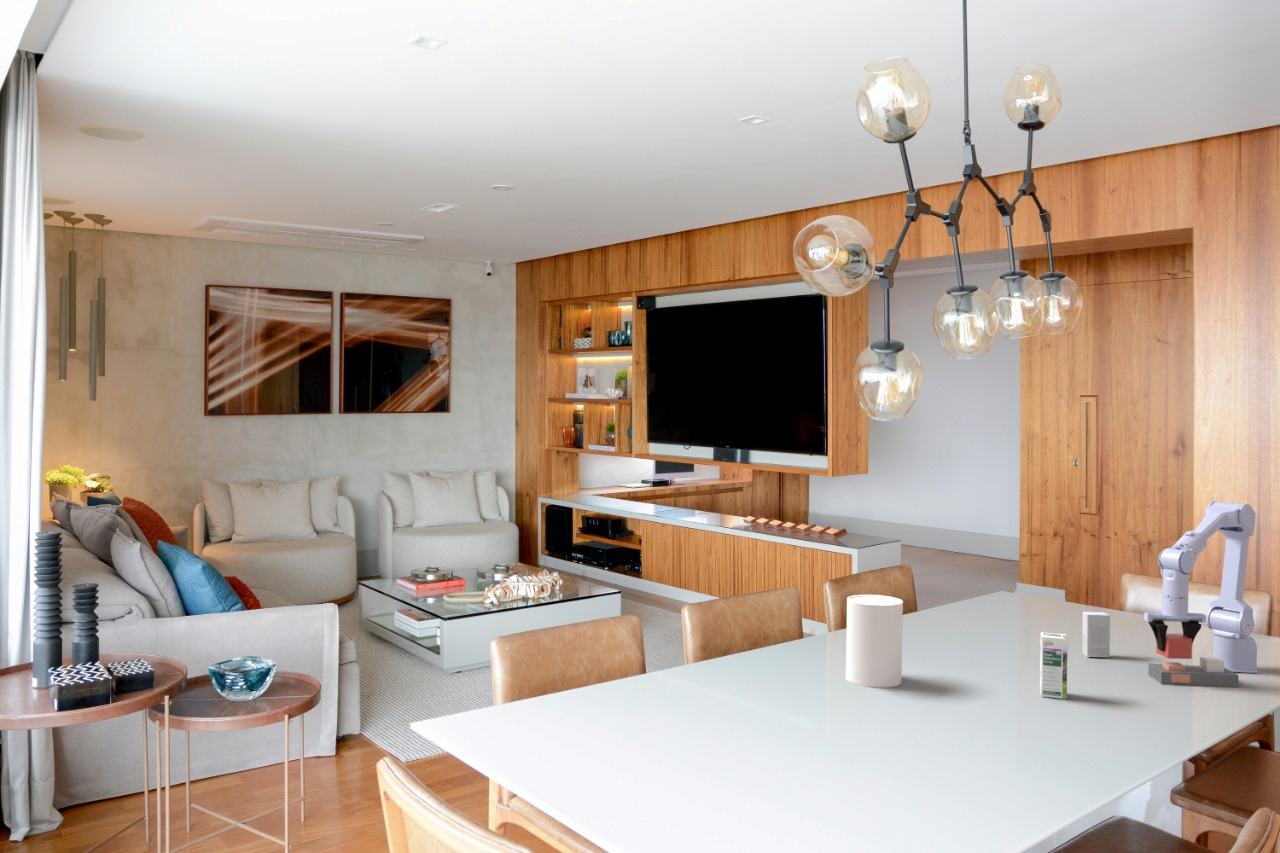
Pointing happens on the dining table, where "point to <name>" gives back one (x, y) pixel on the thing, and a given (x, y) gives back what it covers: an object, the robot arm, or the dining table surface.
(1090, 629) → the skincare box
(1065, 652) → the syrup box
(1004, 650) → the dining table surface
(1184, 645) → the cap
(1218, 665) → the block
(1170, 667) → the block
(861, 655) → the canister
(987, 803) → the dining table surface
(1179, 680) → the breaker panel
